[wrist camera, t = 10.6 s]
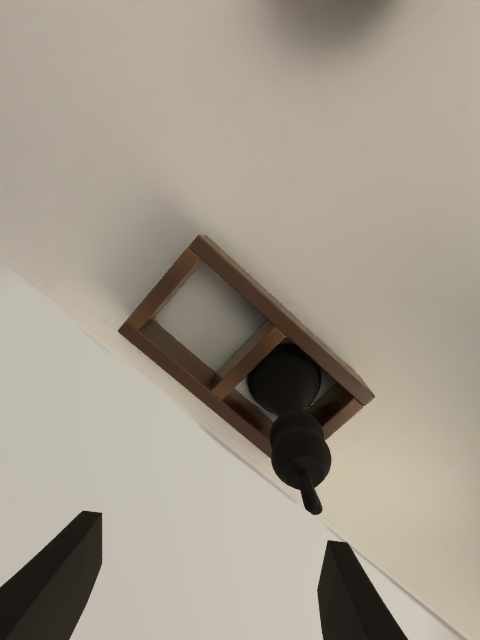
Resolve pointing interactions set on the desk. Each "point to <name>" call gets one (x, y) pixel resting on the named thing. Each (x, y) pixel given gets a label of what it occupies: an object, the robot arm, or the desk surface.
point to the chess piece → (293, 419)
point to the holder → (240, 350)
